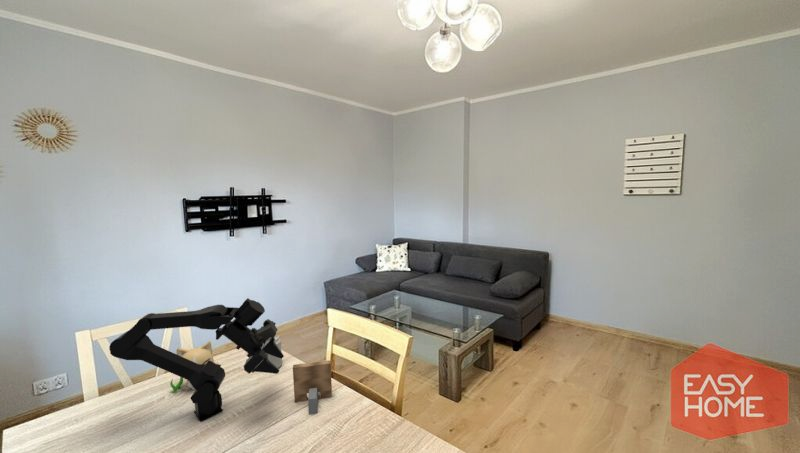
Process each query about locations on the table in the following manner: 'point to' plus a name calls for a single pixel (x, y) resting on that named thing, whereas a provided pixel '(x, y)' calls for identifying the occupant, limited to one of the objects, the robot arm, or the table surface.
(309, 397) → the charcoal rail
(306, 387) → the walnut plate
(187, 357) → the kitten
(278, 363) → the can
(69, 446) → the table surface
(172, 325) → the robot arm
